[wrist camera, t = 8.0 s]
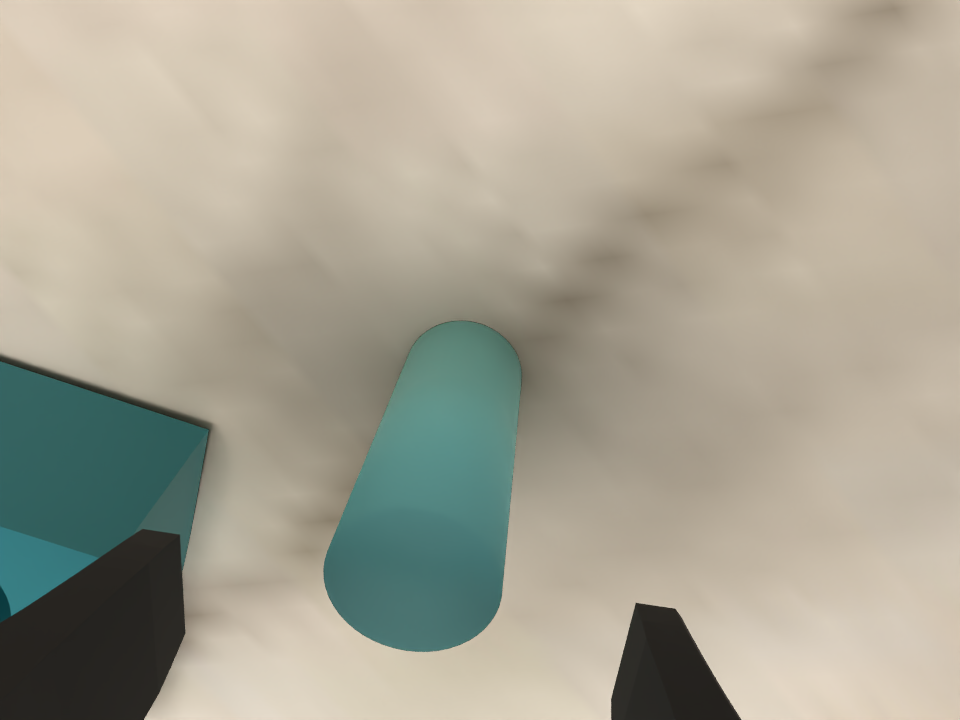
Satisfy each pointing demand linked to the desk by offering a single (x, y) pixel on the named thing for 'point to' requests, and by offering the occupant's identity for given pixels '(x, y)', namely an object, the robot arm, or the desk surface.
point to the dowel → (433, 497)
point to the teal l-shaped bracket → (84, 480)
